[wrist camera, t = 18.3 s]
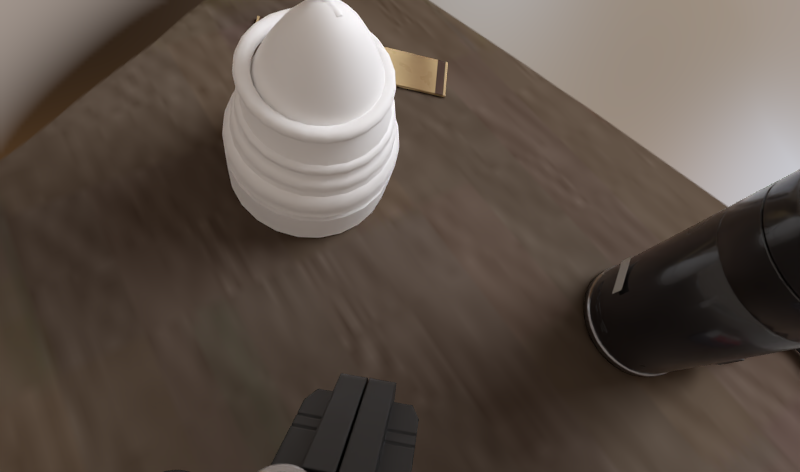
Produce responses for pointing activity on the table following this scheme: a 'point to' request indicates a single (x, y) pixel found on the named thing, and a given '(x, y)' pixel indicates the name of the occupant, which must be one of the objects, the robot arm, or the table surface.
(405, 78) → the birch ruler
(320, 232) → the honey pot
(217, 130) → the table surface
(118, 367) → the table surface
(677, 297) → the robot arm
